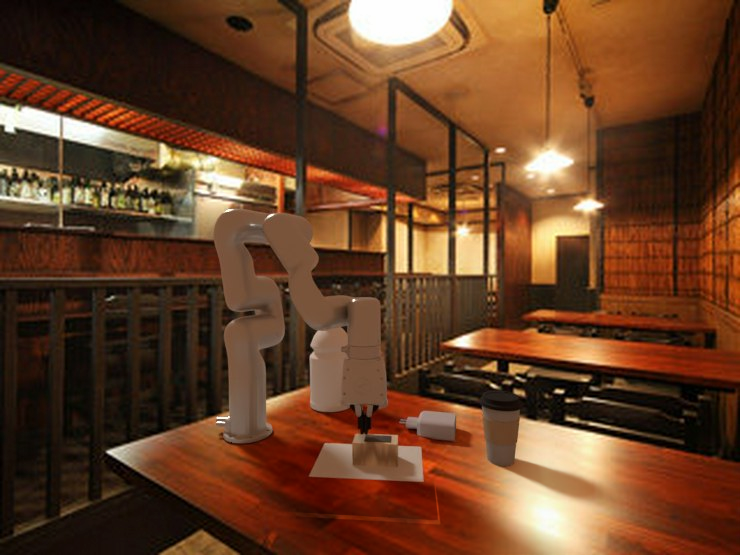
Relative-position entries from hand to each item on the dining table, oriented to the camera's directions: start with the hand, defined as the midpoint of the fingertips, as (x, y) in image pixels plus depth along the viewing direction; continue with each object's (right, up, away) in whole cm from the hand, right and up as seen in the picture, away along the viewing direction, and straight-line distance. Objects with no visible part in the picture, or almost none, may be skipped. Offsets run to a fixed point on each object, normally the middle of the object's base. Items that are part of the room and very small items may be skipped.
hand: (364, 431), depth 90 cm
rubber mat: (+1, -7, 0) cm, 7 cm away
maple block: (-2, -4, 0) cm, 5 cm away
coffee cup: (+31, -7, +1) cm, 32 cm away
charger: (+17, -7, +17) cm, 25 cm away
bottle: (-11, -7, +38) cm, 41 cm away
